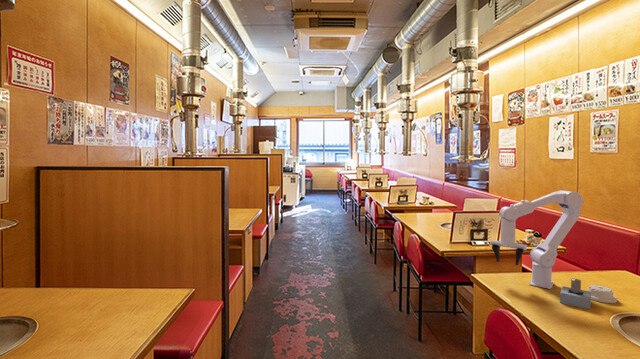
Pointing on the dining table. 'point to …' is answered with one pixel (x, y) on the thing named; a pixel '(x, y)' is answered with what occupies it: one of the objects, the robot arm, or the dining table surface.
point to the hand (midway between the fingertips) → (507, 263)
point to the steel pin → (576, 286)
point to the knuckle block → (575, 298)
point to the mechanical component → (602, 294)
